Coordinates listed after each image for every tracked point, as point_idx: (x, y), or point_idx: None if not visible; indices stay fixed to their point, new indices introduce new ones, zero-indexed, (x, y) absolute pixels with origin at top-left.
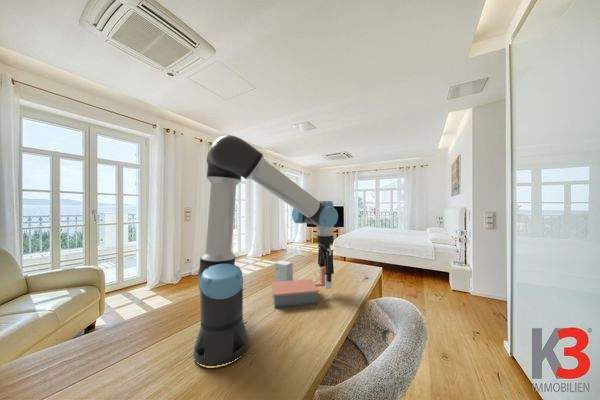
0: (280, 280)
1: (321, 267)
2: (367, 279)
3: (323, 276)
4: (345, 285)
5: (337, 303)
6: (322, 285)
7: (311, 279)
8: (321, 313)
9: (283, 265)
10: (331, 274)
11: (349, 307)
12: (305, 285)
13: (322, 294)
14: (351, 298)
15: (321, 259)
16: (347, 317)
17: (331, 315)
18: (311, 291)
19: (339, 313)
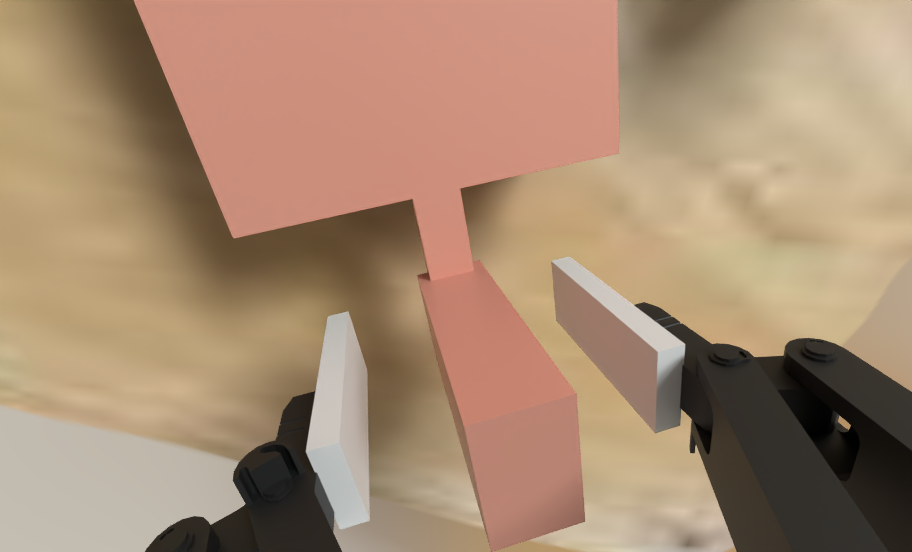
0: None
1: (542, 416)
2: (670, 544)
3: (441, 357)
4: (610, 423)
5: (304, 352)
6: (420, 286)
7: (597, 157)
8: (83, 209)
9: None
10: (340, 514)
11: (248, 427)
12: (391, 45)
13: (470, 244)
14: (396, 447)
15: (772, 530)
16: (77, 405)
17: (71, 293)
18: (190, 130)
19: (128, 355)
